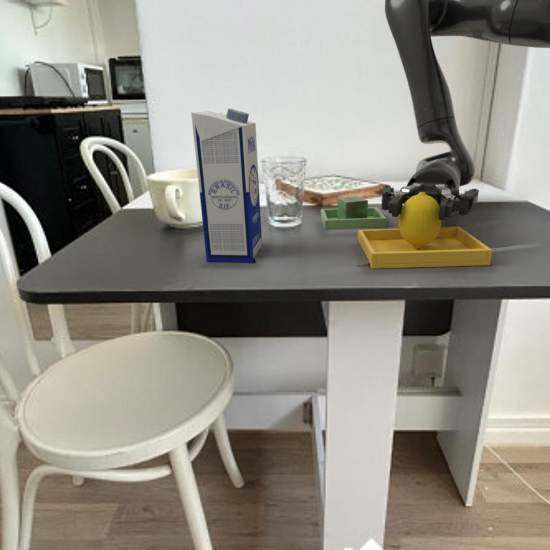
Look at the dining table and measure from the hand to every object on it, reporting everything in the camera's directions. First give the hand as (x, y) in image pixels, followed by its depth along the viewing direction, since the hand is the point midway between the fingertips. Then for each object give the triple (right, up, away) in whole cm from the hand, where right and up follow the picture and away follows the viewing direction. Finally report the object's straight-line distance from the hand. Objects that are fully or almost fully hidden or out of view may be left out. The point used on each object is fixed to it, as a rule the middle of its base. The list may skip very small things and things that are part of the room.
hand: (418, 211), depth 57 cm
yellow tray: (+1, -5, +4) cm, 7 cm away
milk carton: (-25, -6, +7) cm, 26 cm away
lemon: (+1, -5, +4) cm, 7 cm away
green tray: (-5, 0, +20) cm, 20 cm away
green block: (-5, +1, +19) cm, 20 cm away
